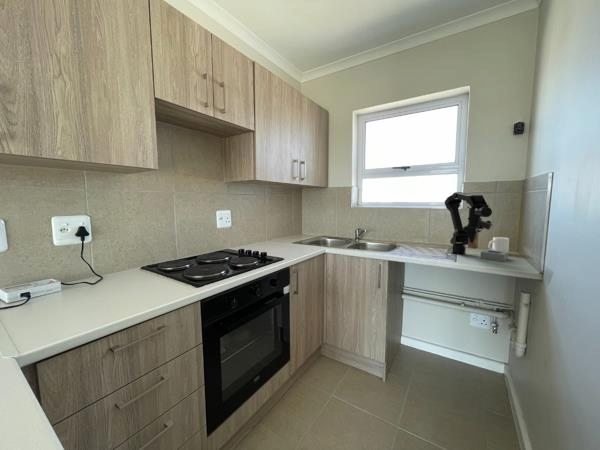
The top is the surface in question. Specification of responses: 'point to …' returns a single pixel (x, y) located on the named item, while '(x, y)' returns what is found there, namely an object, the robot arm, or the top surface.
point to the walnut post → (473, 242)
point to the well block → (494, 255)
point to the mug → (499, 244)
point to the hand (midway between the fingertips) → (473, 242)
